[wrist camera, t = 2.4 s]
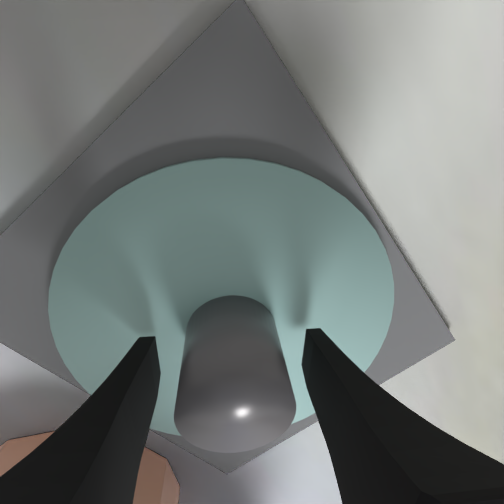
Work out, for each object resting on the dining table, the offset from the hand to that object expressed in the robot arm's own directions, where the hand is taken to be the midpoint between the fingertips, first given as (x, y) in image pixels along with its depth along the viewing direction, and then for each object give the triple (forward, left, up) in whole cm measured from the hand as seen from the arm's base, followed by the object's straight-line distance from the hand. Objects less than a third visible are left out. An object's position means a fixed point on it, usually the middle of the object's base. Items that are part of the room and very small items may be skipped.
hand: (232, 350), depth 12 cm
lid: (0, 0, -2) cm, 2 cm away
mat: (0, 0, -2) cm, 2 cm away
